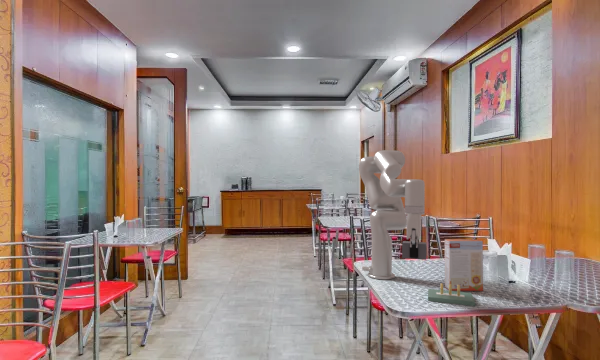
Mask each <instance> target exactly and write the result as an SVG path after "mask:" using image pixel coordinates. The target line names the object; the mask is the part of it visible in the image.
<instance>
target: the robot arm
mask: <svg viewBox="0 0 600 360" xmlns="http://www.w3.org/2000/svg"><path fill="white" fill-rule="evenodd" d="M358 163H359V164H358V171H359V176H360V178H361V180H362V182H363V184H364V187H365V192H366V196H367V201H368V203H369V207H370V209H372V210H374V211H372V212H371V213H370V216H369V224H370V232H371V265H369V266H365V265H364V266H363V265H362V271H364V272H367V276H368V277H369V278H371V279H376V280H392V279H395V278H396V274H394V273H393V272H392V271H393V238H392V237H391V235H390V234H389V232H388V231H400V230H401V231H402V230H404V229H406V237H405V238H406V240H410V258H418V242H419V240H420V239H421V235H422V233H421V231H422V216H423V215H425V208H426V207H425V198H426V197H425V195H426V193H425V192H426V191H425V186H426V185H425V181H424V179H415V178H412V179H407V178H401V179H400V178H398V177H399V176H400V175H401V173H402V168H403V167H404V166H405V164H406V157H405V154H404V152H403V151H400V150H392V149H391V150H390V149H389V150H388V149H387V150H386V149H385V150H384V149H382V150H378V151H376V153H375V154H374V155H373V156H364V157H362V158H361V159H360V160H359V162H358ZM375 174H380V176H379V177H378V176H377V175H375ZM402 198H404V201H403V200H402ZM403 202H404V203H403Z"/></svg>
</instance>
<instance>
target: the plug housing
mask: <svg viewBox="0 0 600 360" xmlns="http://www.w3.org/2000/svg"><path fill="white" fill-rule="evenodd" d="M427 246H428V244H427V242H424V241H422V242H421V241H418V258H410V241H407V240H403V241H402V243H401V258H402V259H410V260H411V259H412V260H423V261H427V255H428V253H427V252H428V251H427V250H428V249H427Z"/></svg>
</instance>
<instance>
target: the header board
mask: <svg viewBox="0 0 600 360" xmlns="http://www.w3.org/2000/svg"><path fill="white" fill-rule="evenodd" d="M439 288H440V289H435V288H428V289H427V294H428V296H427V301H428V302H434V303H442V304H443V303H444V304H452V305H453V304H455V305H461V306H471V307H476V301H475V299H474V296H473V294H472V292H468V291H460V285H457V291H452V284H449V290H448V289H447V290H446V289H444V283H440V287H439Z"/></svg>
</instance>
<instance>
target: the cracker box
mask: <svg viewBox="0 0 600 360" xmlns="http://www.w3.org/2000/svg"><path fill="white" fill-rule="evenodd" d="M483 243H484V241H483V240H480V239H477V238H474V239H473V238H472V239H470V238H467V239H466V238H465V239H464V238H445V239H444V287H445V289H447V291H449V284H452V291H457V285H460V292H483V291H484V255H483V253H484V248H483V247H484V244H483Z"/></svg>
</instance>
